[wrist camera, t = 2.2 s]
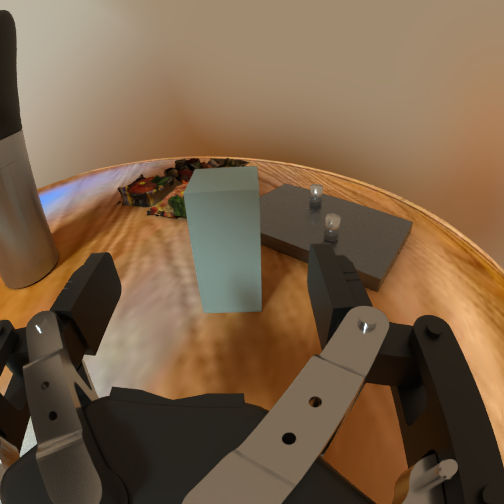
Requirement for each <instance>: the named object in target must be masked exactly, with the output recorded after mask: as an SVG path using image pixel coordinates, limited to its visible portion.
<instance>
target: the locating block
mask: <svg viewBox="0 0 504 504" xmlns="http://www.w3.org/2000/svg"><path fill="white" fill-rule="evenodd" d="M183 194H184V201H185V208H186V214H187V221H188V227H189V234H190V240H191V246H192V252H193V258H194V264H195V269H196V275H197V280H198V286H199V291H200V296H201V302H202V307H203V312H204V313H224V312H259V311H262V293H261V242H260V198H259V181H258V171H257V166H246V167H225V168H208V169H195V171H194V173H193V175H192V177H191V179H190V181H189V183H188V185H187V187H186V189H185V191H184V193H183Z"/></svg>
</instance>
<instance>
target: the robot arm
mask: <svg viewBox="0 0 504 504" xmlns="http://www.w3.org/2000/svg"><path fill="white" fill-rule="evenodd" d="M16 51H17V48H16V27H15V22H14V19H13V17H12V15H11V14H10V13H9V12H8V11H6V10H0V276H1V278H2V280H3V281H4V283H5V285H6V286H7V287H9V288H12V289H18V288H23V287H26V286H29V285H31V284H33V283H35V282H37V281H38V280H40V279H41V278H43V277H44V276H45V275H46V274H48V273H49V272H50V271H51V270H52V268H53V267H54V266H55V264H56V263H57V261H58V258H59V253H58V250H57V248H56V245H55V242H54V240H53V237H52V234H51V232H50V229H49V226H48V223H47V220H46V217H45V214H44V211H43V208H42V205H41V201H40V198H39V195H38V192H37V188H36V185H35V181H34V177H33V174H32V170H31V166H30V162H29V158H28V154H27V149H26V145H25V140H24V135H23V130H21V129H22V124H21V118H20V107H19V98H18V89H17V72H16V53H17V52H16ZM307 284H308V292H309V296H310V301H311V305H312V309H313V313H314V318H315V322H316V327H317V331H318V335H319V340H320V344H321V349H322V353H321V354H320V355H319V356H318V355H316V354H315V355H313V356H312V357H311V358H310V360H309V361H308V362H307V364H306V365H305V366H304V368H303V369H302V370H301V372H300V373H299V374H298V376H297V377H296V378H295V380H294V381H293V382H292V384H291V385H290V386H289V388H288V389H287V390H286V391H285V393H284V394H283V395H282V397H281V398H280V399H279V400H278V402H277V403H276V404H275V405H274V407H273V408H272V409H271V410H270V411H268V410H266V409H264V408H262V407H259V406H256V405H253V404H248V403H245V399H244V393H238V394H209V393H208V394H203V395H198V396H193V397H188V398H182V399H176V400H171V399H167V398H164V397H161V396H158V395H155V394H152V393H149V392H146V391H143V390H138V389H128V388H120V387H112V389H111V392H110V396H106V397H102V398H98V396H97V393H96V391H95V388H94V386H93V383H92V381H91V378H90V375H89V373H88V370H87V367H86V364H85V362H84V361H83V356H84V354H85V355H94V356H95V355H96V353H97V350H98V348H99V345H100V343H101V340H102V338H103V335H104V333H105V331H106V328H107V326H108V323H109V321H110V319H111V317H112V314H113V312H114V310H115V307H116V305H117V303H118V301H119V298H120V296H121V282H120V279H119V277H118V274H117V271H116V268H115V265H114V262H113V259H112V256H111V255H110V253H108V252H104V253H92V254H91V255H90V256H89V257H88V259H87V260H86V262H85V263H84V265H82V266H81V267H80V268H79V269H77V270H76V271H75V272H74V273H73V274H72V276H71V277H70V279H69V280H68V282H67V283H66V285H65V286H64V289H63V290H62V291H61V293H60V294H59V296H58V297H57V299H56V301H55V302H54V304H53V305H52V307H51V309H50V310H49V311H42V312H40V313H38V314H36V315H35V316H33V317H32V318H31V319H30V321H29V322H28V324H27V327H24V328H19V329H15V328H14V327H13V325H12V324H11V322H10V321H9V320H1V321H0V376H1V374H2V372H3V369H4V367H5V365H6V366H7V367H8V368H9V370H10V371H11V372H12V373H13V376H12V378H11V380H10V383H9V385H8V388H7V390H6V393H5V395H4V396H3V395H2V394H1V393H0V500H1V503H2V504H376V503H375V502H374V501H372V500H371V499H370V498H369V497H367V496H366V495H365V494H364V493H363V492H361V491H360V490H359V489H358V488H356V487H355V486H354V485H353V484H352V483H351V482H349V481H348V480H347V479H346V478H345V477H343V476H342V475H341V474H340V473H339V472H338V471H337V470H335V469H334V468H333V467H332V466H331V465H330V464H329V463H328V462H326V461H325V460H324V459H323V458H322V457H323V456H324V454H325V453H326V451H327V450H328V448H329V447H330V445H331V444H332V442H333V440H334V439H335V437H336V436H337V434H338V432H339V430H340V429H341V427H342V425H343V423H344V422H345V420H346V418H347V416H348V415H349V413H350V411H351V409H352V408H353V406H354V404H355V402H356V400H357V399H358V397H359V395H360V393H361V391H362V389H363V387H364V386H365V384H366V383H372V384H380V385H388V386H390V387H391V391H392V395H393V399H394V403H395V407H396V412H397V416H398V420H399V425H400V429H401V434H402V439H403V444H404V449H405V454H406V459H407V465H408V470H406V471H405V472H403V473H402V474H401V475H400V477H399V478H398V480H397V482H396V484H395V491H394V499H393V502H392V504H504V467H503V463H502V459H501V455H500V452H499V448H498V445H497V441H496V438H495V435H494V432H493V429H492V425H491V422H490V420H489V417H488V414H487V411H486V408H485V406H484V403H483V400H482V398H481V395H480V392H479V390H478V387H477V385H476V382H475V380H474V378H473V375H472V373H471V371H470V368H469V366H468V364H467V361H466V359H465V357H464V355H463V353H462V350H461V348H460V346H459V344H458V342H457V340H456V338H455V336H454V334H453V332H452V330H451V328H450V326H449V325H448V324H447V323H446V322H445V321H444V320H443V319H441V318H439V317H437V316H433V315H424V316H421V317H419V318H418V319H417V320H416V321H415V323H414V325H413V326H410V325H403V324H396V323H392V322H389V321H388V318H387V317H386V315H385V314H384V313H383V312H382V311H380V310H378V309H376V308H374V307H373V306H372V304H371V301H370V299H369V297H368V295H367V292H366V290H365V288H364V286H363V284H362V281H360V277H359V275H358V274H357V271H356V269H355V266H354V264H353V262H351V261H350V260H349V259H348V258H347V257H346V256H344V255H335V252H334V250H333V248H332V245H331V244H330V243H311V244H310V250H309V263H308V276H307ZM30 415H31V420H32V424H33V428H34V432H35V436H36V440H37V444H36V445H35V446H34V447H33V448H32V449H30V450H29V451H28V452H27V453H25V454H24V455H23V456H22V457H20V451H21V447H22V443H23V439H24V436H25V432H26V429H27V425H28V422H29V419H30Z"/></svg>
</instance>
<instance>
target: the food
mask: <svg viewBox="0 0 504 504" xmlns="http://www.w3.org/2000/svg"><path fill="white" fill-rule="evenodd" d="M248 163H249V162H246V161H243V160H233V159H229V158H226V159H212V158H211V159H210V161H209V162H208V163H207V164H206V163H205V162H202V163H200V160H199V159H198V158H197V159H195V158H193V159H190V160H186V159H183V160H176V161H175V164H176V165H175V168H168V169H166V170H165V171H164V174H165V177H159V176H157V175H156V176H155V177H149V178H144V177H143V175H142V174H141V175H140V177H139V178H138V179H137V180H136V181H134V182H133V183H132V184H130V185H128V186H126V187H123V188H122V187H121V188H120V187H119V188H118V190H119V192H120V193H121V197H122V198H123V203H122V205H126V206H127V205H128V206H142V207H152V206H153V207H152V208H151V209H149V210H148V211H147V215H149V214H154V213H155V212H156V211H158V212H157V214H161V215H160V216H162V215H163V216H166V217H171V218H177V217H176V216H182V217H187V214H186V208H185V201H184V194H183V193H184V191H185V189H186V187H187V185H188V183H189V181H190V179H191V177H192V175H193V173H194V171H195V169H208V168H213V167H214V168H225V167H245V166H246V165H247V164H248ZM181 182H182V183H181ZM119 203H121V201H119V202H118V203H117V204H119ZM154 205H155V206H154ZM118 206H119V205H118ZM154 215H156V214H154ZM156 216H159V215H156Z"/></svg>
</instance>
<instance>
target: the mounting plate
mask: <svg viewBox="0 0 504 504" xmlns="http://www.w3.org/2000/svg"><path fill="white" fill-rule="evenodd" d="M322 191H323V186H322V185H319V184H312V185H311V187H310V190H308V189H304V188H300V187H297V186H293V185H289V184H284V185H282V186H280V187H278V188H276V189H274V190H273V191H271V192H269V193H267V194H265V195H263V196H261V197H259V198H260V242H261V244H262V245H265V246H267V247H270V248H272V249H275V250H277V251H280V252H282V253H284V254H287V255H289V256H292V257H294V258H297V259H299V260H302V261H304V262H307V263H309V250H310V244H311V243H330V244H331V245H332V248H333V250H334V252H335V255H344V256H346V257H347V258H348V259H349V260H350V261H351V262H353V264H354V266H355V269H356V271H357V274H358V275H359V277H360V281H362V284H363V286H365V287H367V288H370V289H372V290H375V291H377V292H378V290H379V288H380V287H381V285H382V283H383V281H384V280H385V278H386V276H387V275H388V273H389V271H390V269H391V268H392V266H393V264H394V262H395V260H396V259H397V257H398V255H399V253H400V251H401V249H402V247H403V246H404V244H405V242H406V240H407V238H408V236H409V234H410V232H411V228H412V224H413V222H411V221H408V220H405V219H402V218H399V217H396V216H393V215H390V214H387V213H384V212H381V211H378V210H375V209H372V208H369V207H365V206H362V205H359V204H356V203H353V202H349V201H346V200H343V199H339V198H336V197H332V196H329V195H326V194H322Z"/></svg>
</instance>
